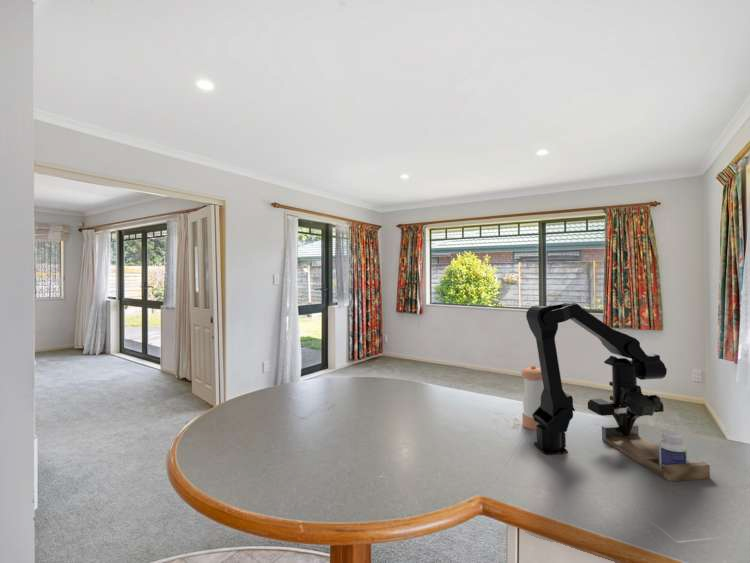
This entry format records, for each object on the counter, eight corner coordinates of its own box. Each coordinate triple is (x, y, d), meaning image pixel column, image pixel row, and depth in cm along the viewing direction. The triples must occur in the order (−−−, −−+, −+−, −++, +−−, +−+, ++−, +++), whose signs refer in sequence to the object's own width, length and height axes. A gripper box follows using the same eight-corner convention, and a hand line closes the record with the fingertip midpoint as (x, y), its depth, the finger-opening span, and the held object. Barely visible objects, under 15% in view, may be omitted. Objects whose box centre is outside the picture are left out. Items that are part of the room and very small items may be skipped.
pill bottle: (692, 477, 88) (691, 439, 88) (666, 475, 90) (665, 438, 89) (678, 466, 94) (677, 430, 94) (654, 464, 95) (653, 429, 95)
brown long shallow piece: (669, 481, 87) (669, 464, 87) (602, 439, 109) (601, 425, 109) (709, 477, 88) (709, 460, 88) (634, 437, 110) (634, 423, 110)
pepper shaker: (522, 428, 119) (520, 367, 119) (522, 420, 126) (521, 362, 126) (547, 431, 117) (546, 369, 116) (546, 422, 123) (545, 363, 123)
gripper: (613, 390, 98) (614, 451, 98) (680, 386, 99) (682, 446, 99) (585, 379, 109) (587, 433, 109) (646, 375, 110) (648, 429, 110)
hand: (625, 435), depth 107 cm, fingers closed
